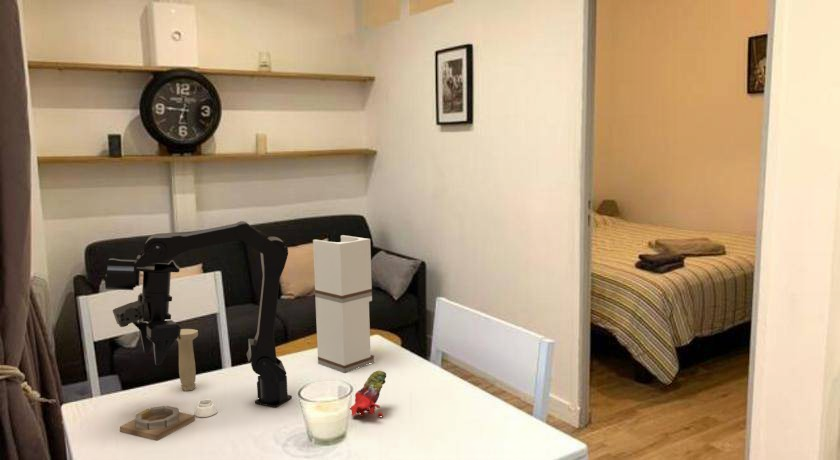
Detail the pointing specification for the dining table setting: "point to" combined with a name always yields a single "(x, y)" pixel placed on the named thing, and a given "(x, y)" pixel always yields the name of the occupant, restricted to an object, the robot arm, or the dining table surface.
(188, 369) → the handle
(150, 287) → the robot arm
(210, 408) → the white jar
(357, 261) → the stacked square vase
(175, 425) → the hub plate
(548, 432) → the dining table surface
